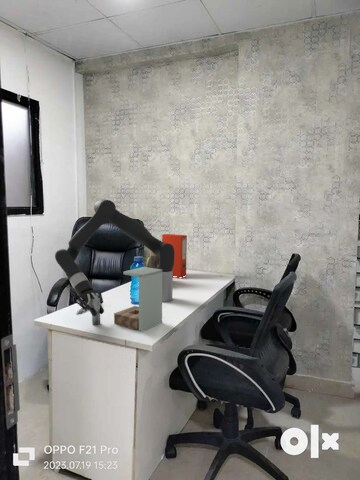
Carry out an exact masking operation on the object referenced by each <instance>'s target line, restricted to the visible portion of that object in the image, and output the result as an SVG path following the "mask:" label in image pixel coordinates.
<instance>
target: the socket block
mask: <svg viewBox="0 0 360 480" xmlns="http://www.w3.org/2000/svg"><path fill="white" fill-rule="evenodd" d="M113 314H114V315H113V317H114V318H113V319H114V322H113V324H115V325H118V326H120V327H124V328H128V329H132V330H136V331H139V306H136V305H133V306H131V307H128V308H125V309H122V310H119V311H117V312H115V313H113Z"/></svg>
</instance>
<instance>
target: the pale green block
mask: <svg viewBox="0 0 360 480" xmlns="http://www.w3.org/2000/svg"><path fill="white" fill-rule="evenodd" d="M122 272H123V275H125V276H131V277H132V276H133V277H136V278H137V277H138V282H139V287H138V307H139V330H138V331H139V332H142V333H144V332H146V331H147V330H150V329H152V328H154V327H156V326H157V325H160V324H162V323H163V302H162V270H161V269H154V268H147V267H146V266H142V267H139V268H134V269H130V270H129V269H128V270H125V271H122Z"/></svg>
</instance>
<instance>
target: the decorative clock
mask: <svg viewBox="0 0 360 480" xmlns="http://www.w3.org/2000/svg"><path fill="white" fill-rule="evenodd" d="M149 251H150V253H149V254H150V255H149V257H147V260H146V263H145V264H146V265H145V267H147V268H154V269H157V265H159V263H160V258H159V257H158V256H156V255H155V254H154V253H153V252H152V251H151V250H149Z"/></svg>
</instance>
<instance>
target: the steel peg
mask: <svg viewBox="0 0 360 480" xmlns="http://www.w3.org/2000/svg"><path fill="white" fill-rule="evenodd" d="M92 306H93V307H92V308H94V309H95V311H96V312H97V315H96V316H95V317H94V316H93V315H92V314H91V323H92V326H99V325H101V314H100V298H98V297H95V298H92Z"/></svg>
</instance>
